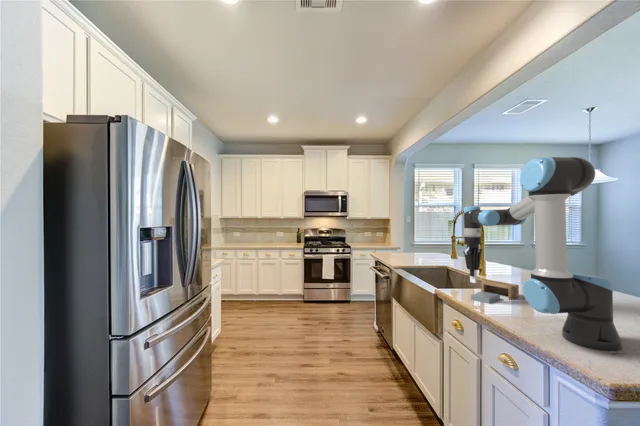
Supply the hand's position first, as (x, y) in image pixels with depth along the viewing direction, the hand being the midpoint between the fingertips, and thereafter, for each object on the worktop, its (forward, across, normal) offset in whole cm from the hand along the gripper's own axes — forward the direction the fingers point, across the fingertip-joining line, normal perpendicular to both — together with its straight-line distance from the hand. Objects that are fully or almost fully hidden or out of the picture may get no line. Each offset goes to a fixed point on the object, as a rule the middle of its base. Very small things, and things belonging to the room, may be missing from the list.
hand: (473, 282), depth 145 cm
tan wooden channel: (+11, +24, 0) cm, 26 cm away
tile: (+11, +10, 0) cm, 15 cm away
